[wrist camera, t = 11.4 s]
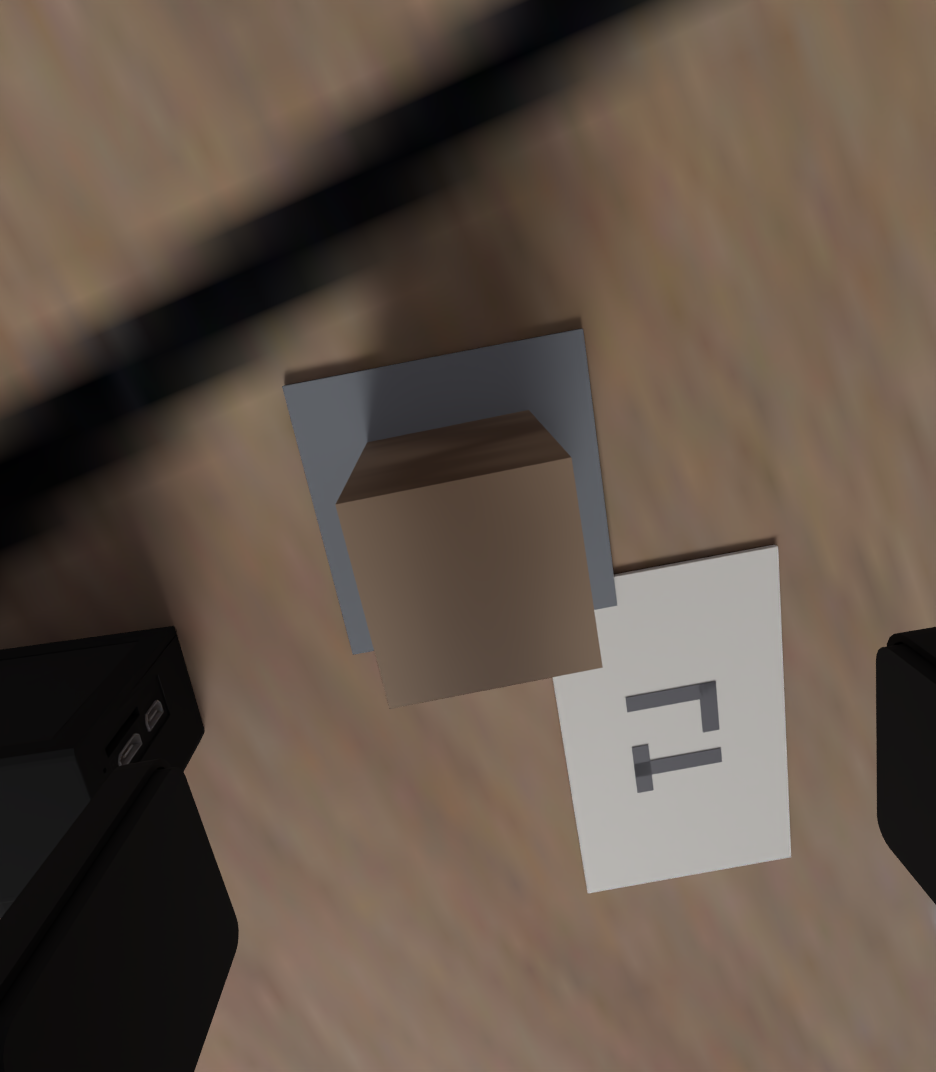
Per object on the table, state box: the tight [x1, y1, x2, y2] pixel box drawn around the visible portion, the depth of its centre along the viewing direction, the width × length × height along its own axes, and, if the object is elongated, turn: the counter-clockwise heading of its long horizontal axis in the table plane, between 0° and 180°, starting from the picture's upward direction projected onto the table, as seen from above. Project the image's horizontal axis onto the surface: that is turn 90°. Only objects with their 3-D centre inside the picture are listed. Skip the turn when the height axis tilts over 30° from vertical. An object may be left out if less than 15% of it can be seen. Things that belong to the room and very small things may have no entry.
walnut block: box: [335, 410, 603, 709], centre depth 19 cm, size 5×5×7 cm
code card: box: [552, 545, 791, 893], centre depth 25 cm, size 8×13×1 cm, turn 10°
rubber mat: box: [282, 329, 617, 655], centre depth 22 cm, size 9×9×1 cm
